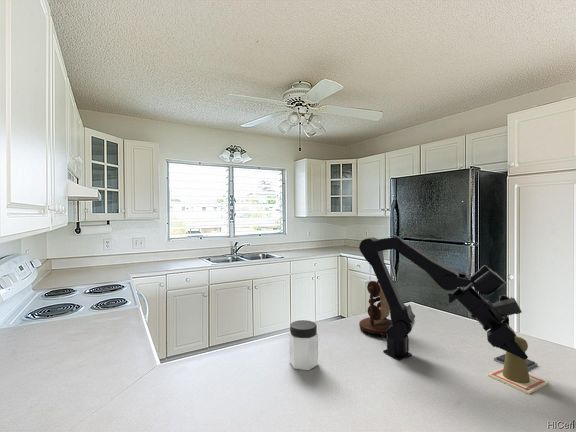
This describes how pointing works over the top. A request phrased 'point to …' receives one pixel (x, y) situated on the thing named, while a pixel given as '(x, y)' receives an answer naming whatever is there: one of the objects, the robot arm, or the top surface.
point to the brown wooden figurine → (376, 311)
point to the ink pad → (502, 359)
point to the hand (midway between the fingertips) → (523, 351)
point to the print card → (525, 387)
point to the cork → (516, 365)
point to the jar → (303, 345)
